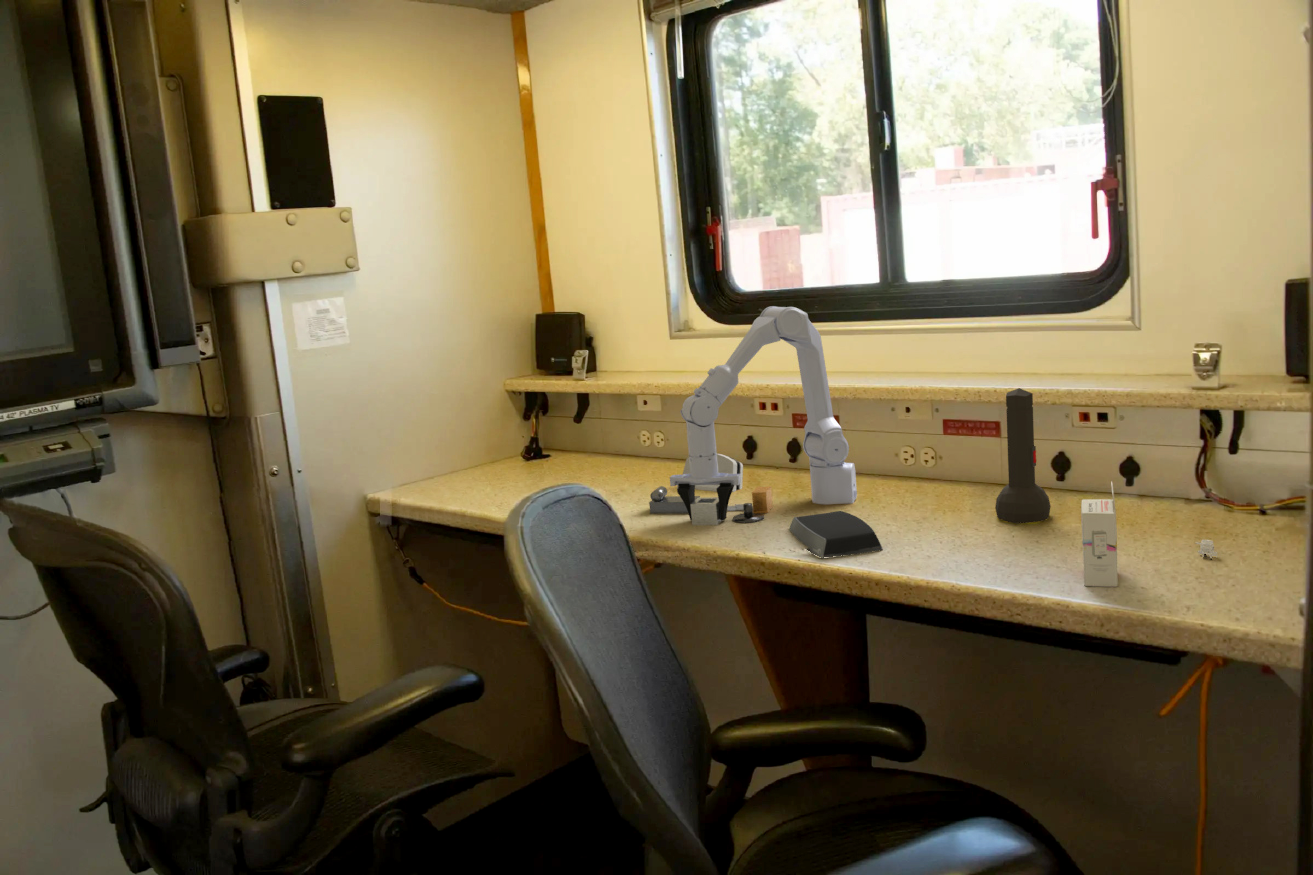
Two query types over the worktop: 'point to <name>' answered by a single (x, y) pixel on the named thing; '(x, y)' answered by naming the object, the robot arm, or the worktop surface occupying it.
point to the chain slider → (758, 501)
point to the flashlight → (1021, 465)
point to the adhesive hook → (1207, 548)
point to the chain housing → (666, 503)
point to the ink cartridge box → (1099, 541)
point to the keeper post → (748, 515)
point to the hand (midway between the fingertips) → (708, 519)
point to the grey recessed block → (705, 511)
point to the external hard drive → (835, 534)
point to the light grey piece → (720, 471)
